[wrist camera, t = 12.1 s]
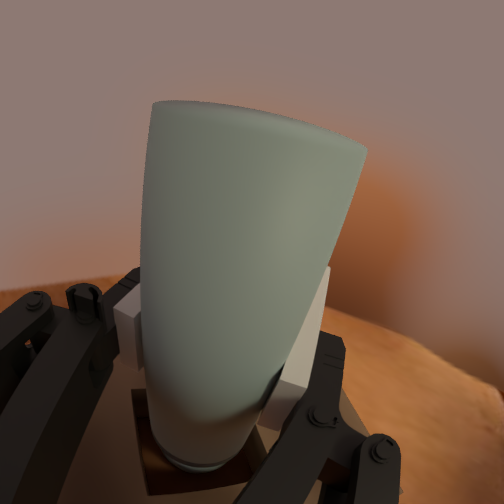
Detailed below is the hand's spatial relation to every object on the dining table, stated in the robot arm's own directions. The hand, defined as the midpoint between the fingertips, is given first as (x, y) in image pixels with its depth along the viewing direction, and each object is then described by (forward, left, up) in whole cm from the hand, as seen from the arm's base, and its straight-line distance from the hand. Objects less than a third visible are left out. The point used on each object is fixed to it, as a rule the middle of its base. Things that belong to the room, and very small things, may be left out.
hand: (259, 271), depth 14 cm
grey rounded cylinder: (+3, +4, -9) cm, 10 cm away
